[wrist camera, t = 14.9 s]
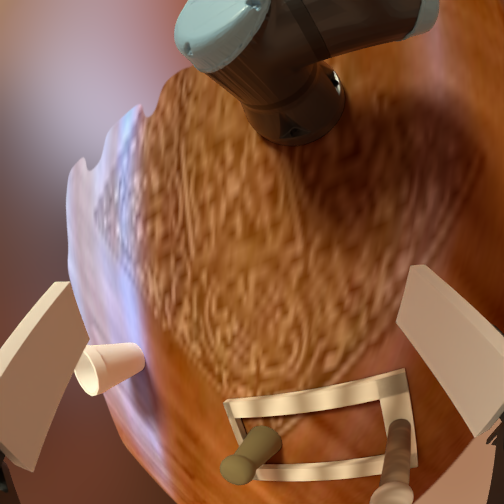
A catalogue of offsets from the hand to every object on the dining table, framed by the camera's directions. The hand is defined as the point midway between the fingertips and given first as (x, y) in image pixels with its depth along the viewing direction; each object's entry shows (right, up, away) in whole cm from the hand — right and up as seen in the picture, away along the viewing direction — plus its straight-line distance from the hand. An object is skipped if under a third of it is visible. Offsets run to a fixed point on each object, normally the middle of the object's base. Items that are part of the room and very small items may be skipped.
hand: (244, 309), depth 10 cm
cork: (+3, -29, +31) cm, 43 cm away
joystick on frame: (+11, -26, +27) cm, 39 cm away
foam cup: (-24, -20, +45) cm, 54 cm away
